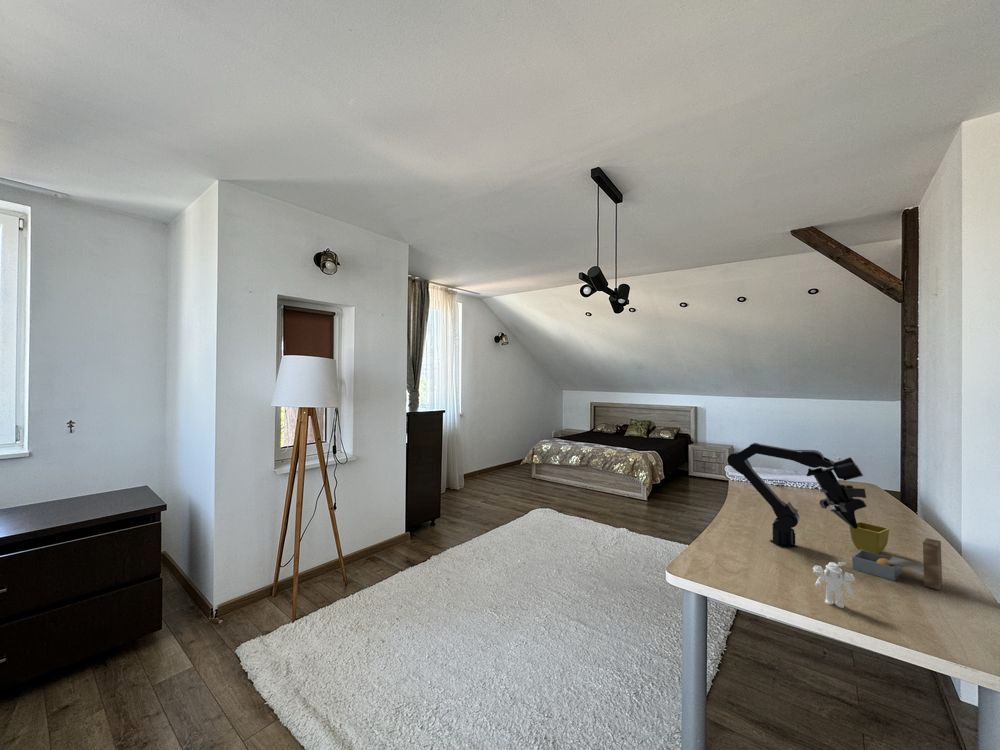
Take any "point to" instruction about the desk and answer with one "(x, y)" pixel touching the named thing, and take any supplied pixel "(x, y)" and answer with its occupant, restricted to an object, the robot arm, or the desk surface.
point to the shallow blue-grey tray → (874, 565)
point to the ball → (884, 561)
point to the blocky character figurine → (834, 582)
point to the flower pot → (869, 537)
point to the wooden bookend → (926, 563)
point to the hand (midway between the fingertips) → (855, 528)
